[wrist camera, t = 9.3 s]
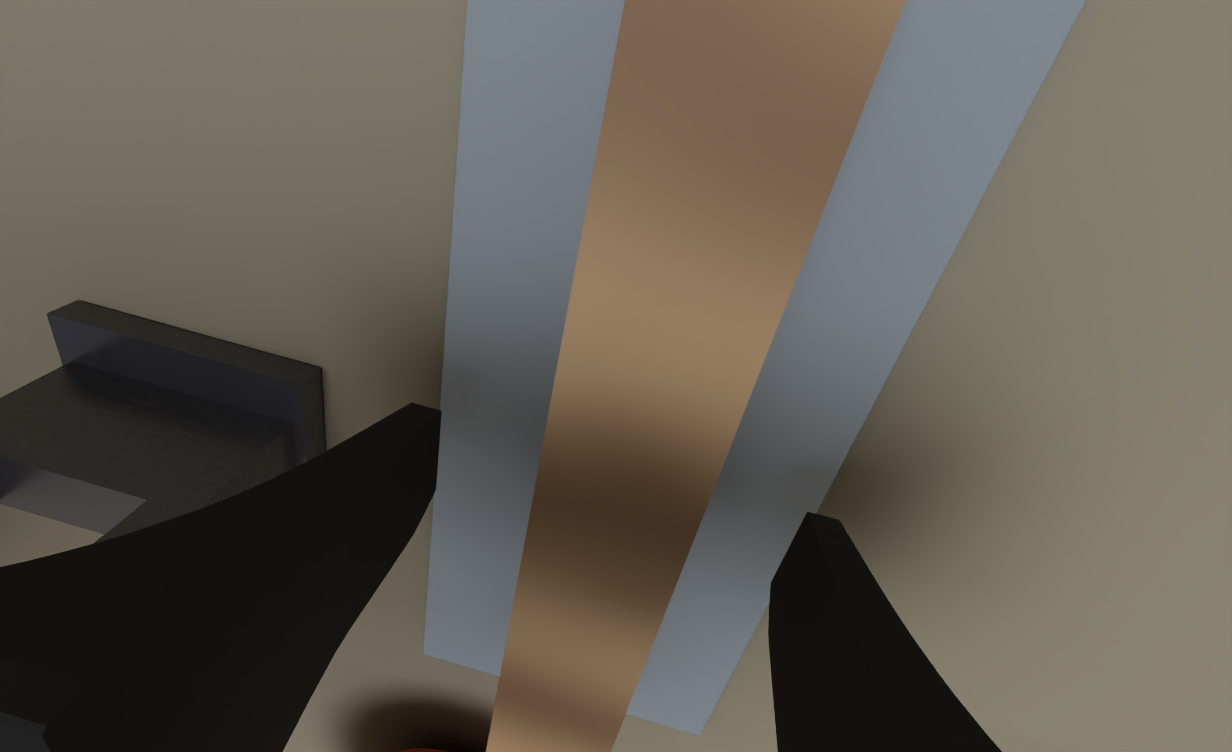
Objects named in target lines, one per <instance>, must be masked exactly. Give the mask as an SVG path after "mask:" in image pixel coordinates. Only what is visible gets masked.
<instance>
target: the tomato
mask: <svg viewBox="0 0 1232 752" xmlns="http://www.w3.org/2000/svg"><path fill="white" fill-rule="evenodd" d="M395 752H448V751H443V750H436V749H427V748H412V749H406V750H400V751H395Z"/></svg>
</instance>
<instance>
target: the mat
mask: <svg viewBox="0 0 1232 752" xmlns="http://www.w3.org/2000/svg"><path fill="white" fill-rule="evenodd" d="M1085 1H1086V0H906V2H905V4H904V7H903V9H902V12H901V14H900V17H899V20H898V22H897V25H896V27H895V30H894V32H893V35H892V37H891V40H890V42H889V45H888V48H887V50H886V53H885V55H884V58H883V60H882V63H881V65H880V68H879V70H878V73H877V75H876V78H875V81H874V83H873V86H872V88H871V91H870V93H869V96H868V98H867V101H866V103H865V106H864V109H863V111H862V114H861V116H860V119H859V121H858V124H857V126H856V129H855V131H854V134H853V137H852V139H851V142H850V144H849V147H848V149H847V152H846V154H845V157H844V159H843V162H842V165H841V167H840V170H839V172H838V175H837V177H836V180H835V182H834V185H833V187H832V190H831V193H830V195H829V198H828V200H827V203H826V205H825V208H824V210H823V213H822V215H821V218H820V221H819V223H818V226H817V228H816V231H815V233H814V236H813V238H812V241H811V243H810V246H809V248H808V251H807V254H806V256H805V259H804V261H803V264H802V266H801V269H800V271H799V274H798V276H797V279H796V282H795V284H794V287H793V289H792V292H791V294H790V297H789V299H788V302H787V304H786V307H785V310H784V312H783V315H782V317H781V320H780V322H779V325H778V327H777V330H776V332H775V335H774V338H773V340H772V343H771V345H770V348H769V350H768V353H767V355H766V358H765V360H764V363H763V366H762V368H761V371H760V373H759V376H758V378H757V381H756V383H755V386H754V388H753V391H752V394H751V396H750V399H749V401H748V404H747V406H746V409H745V411H744V414H743V416H742V419H741V421H740V424H739V427H738V429H737V432H736V434H735V437H734V439H733V442H732V444H731V447H730V449H729V452H728V455H727V457H726V460H725V462H724V465H723V467H722V470H721V472H720V475H719V477H718V480H717V483H716V485H715V488H714V490H713V493H712V495H711V498H710V500H709V503H708V505H707V508H706V511H705V513H704V516H703V518H702V521H701V523H700V526H699V528H698V531H697V533H696V536H695V539H694V541H693V544H692V546H691V549H690V551H689V554H688V556H687V559H686V561H685V564H684V567H683V569H682V572H681V574H680V577H679V579H678V582H677V584H676V587H675V589H674V592H673V594H672V597H671V600H670V602H669V605H668V607H667V610H666V612H665V615H664V617H663V620H662V622H661V625H660V628H659V630H658V633H657V635H656V638H655V640H654V643H653V645H652V648H651V650H650V653H649V656H648V658H647V661H646V663H645V666H644V668H643V671H642V673H641V676H640V678H639V681H638V684H637V686H636V689H635V691H634V694H633V696H632V699H631V701H630V704H629V706H628V709H627V712H626V714H627V715H630V716H634V717H637V718H641V719H644V720H647V721H651V722H654V723H657V724H661V725H664V726H668V727H671V728H674V729H678V730H681V731H684V732H688V733H691V734H695V735H698V736H700V734H701V732H702V730H703V728H704V726H705V724H706V722H707V721H708V719H709V717H710V715H711V713H712V711H713V709H714V707H715V705H716V703H717V702H718V700H719V698H720V696H721V694H722V692H723V690H724V688H725V686H726V684H727V683H728V681H729V679H730V677H731V675H732V673H733V671H734V669H735V667H736V665H737V663H738V662H739V660H740V658H741V656H742V654H743V652H744V650H745V648H746V646H747V644H748V643H749V641H750V639H751V637H752V635H753V633H754V631H755V629H756V627H757V625H758V623H759V622H760V620H761V618H762V616H763V614H764V612H765V610H766V608H767V606H768V604H769V603H770V586H771V581H772V579H773V577H774V575H775V573H776V571H777V569H778V568H779V566H780V564H781V562H782V560H783V558H784V556H785V554H786V552H787V550H788V548H789V546H790V544H791V542H792V540H793V538H794V536H795V534H796V532H797V530H798V528H799V527H800V525H801V523H802V521H803V519H804V517H805V515H806V513H807V511H808V512H811V513H815V514H816V513H817V511H818V509H819V507H820V505H821V504H822V502H823V500H824V498H825V496H826V494H827V492H828V490H829V488H830V486H831V484H832V483H833V481H834V479H835V477H836V475H837V473H838V471H839V469H840V467H841V465H842V464H843V462H844V460H845V458H846V456H847V454H848V452H849V450H850V448H851V446H852V445H853V443H854V441H855V439H856V437H857V435H858V433H859V431H860V429H861V427H862V425H863V424H864V422H865V420H866V418H867V416H868V414H869V412H870V410H871V408H872V406H873V405H874V403H875V401H876V399H877V397H878V395H879V393H880V391H881V389H882V387H883V385H884V384H885V382H886V380H887V378H888V376H889V374H890V372H891V370H892V368H893V366H894V365H895V363H896V361H897V359H898V357H899V355H900V353H901V351H902V349H903V347H904V346H905V344H906V342H907V340H908V338H909V336H910V334H911V332H912V330H913V328H914V326H915V325H916V323H917V321H918V319H919V317H920V315H921V313H922V311H923V309H924V307H925V306H926V304H927V302H928V300H929V298H930V296H931V294H932V292H933V290H934V288H935V286H936V285H937V283H938V281H939V279H940V277H941V275H942V273H943V271H944V269H945V267H946V266H947V264H948V262H949V260H950V258H951V256H952V254H953V252H954V250H955V248H956V247H957V245H958V243H959V241H960V239H961V237H962V235H963V233H964V231H965V229H966V227H967V226H968V224H969V222H970V220H971V218H972V216H973V214H974V212H975V210H976V208H977V207H978V205H979V203H980V201H981V199H982V197H983V195H984V193H985V191H986V189H987V187H988V186H989V184H990V182H991V180H992V178H993V176H994V174H995V172H996V170H997V168H998V167H999V165H1000V163H1001V161H1002V159H1003V157H1004V155H1005V153H1006V151H1007V149H1008V147H1009V146H1010V144H1011V142H1012V140H1013V138H1014V136H1015V134H1016V132H1017V130H1018V128H1019V127H1020V125H1021V123H1022V121H1023V119H1024V117H1025V115H1026V113H1027V111H1028V109H1029V108H1030V106H1031V104H1032V102H1033V100H1034V98H1035V96H1036V94H1037V92H1038V90H1039V88H1040V87H1041V85H1042V83H1043V81H1044V79H1045V77H1046V75H1047V73H1048V71H1049V69H1050V68H1051V66H1052V64H1053V62H1054V60H1055V58H1056V56H1057V54H1058V52H1059V50H1060V48H1061V47H1062V45H1063V43H1064V41H1065V39H1066V37H1067V35H1068V33H1069V31H1070V29H1071V28H1072V26H1073V24H1074V22H1075V20H1076V18H1077V16H1078V14H1079V12H1080V10H1081V9H1082V7H1083V5H1084V3H1085ZM624 2H625V0H467V15H466V29H465V44H464V59H463V74H462V88H461V103H460V118H459V133H458V147H457V162H456V177H455V192H454V206H453V221H452V236H451V251H450V265H449V280H448V295H447V310H446V324H445V339H444V354H443V368H442V383H441V398H440V411H442V415H441V429H440V443H439V457H438V471H437V485H436V491H435V493H434V501H433V516H432V531H431V545H430V560H429V575H428V590H427V604H426V619H425V634H424V649H423V654H424V655H428V656H431V657H434V658H438V659H441V660H444V661H448V662H451V663H455V664H458V665H461V666H465V667H468V668H471V669H475V670H478V671H482V672H485V673H488V674H492V675H495V676H499V677H500V672H501V667H502V662H503V656H504V651H505V645H506V640H507V635H508V629H509V624H510V618H511V613H512V607H513V602H514V597H515V591H516V586H517V580H518V575H519V570H520V564H521V559H522V553H523V548H524V543H525V537H526V532H527V526H528V521H529V516H530V510H531V505H532V499H533V494H534V489H535V483H536V478H537V472H538V467H539V462H540V456H541V451H542V445H543V440H544V434H545V429H546V424H547V418H548V413H549V407H550V402H551V397H552V391H553V386H554V380H555V375H556V370H557V364H558V359H559V353H560V348H561V343H562V337H563V332H564V326H565V321H566V316H567V310H568V305H569V299H570V294H571V289H572V283H573V278H574V272H575V267H576V262H577V256H578V251H579V245H580V240H581V234H582V229H583V224H584V218H585V213H586V207H587V202H588V197H589V191H590V186H591V180H592V175H593V170H594V164H595V159H596V153H597V148H598V143H599V137H600V132H601V126H602V121H603V116H604V110H605V105H606V99H607V94H608V89H609V83H610V78H611V72H612V67H613V61H614V56H615V51H616V45H617V40H618V34H619V29H620V24H621V18H622V13H623V7H624Z"/></svg>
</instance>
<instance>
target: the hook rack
mask: <svg viewBox="0 0 1232 752" xmlns="http://www.w3.org/2000/svg"><path fill="white" fill-rule="evenodd" d="M47 317H48V320H49V323H50V326H51V329H52V332H53V336H54V339H55V342H56V345H57V348H58V351H59V354H60V358H61V361H62V364H63V366H62V367H60V368H58V369H56V370H54V371H52V372H50V373H48V374H46V375H44V376H42V377H40V378H38V379H36V380H34V381H33V382H31V383H29V384H27V385H25V386H23V387H21V388H19V389H17V390H15V391H13V392H11V393H9V394H7V395H5V396H4V397H2V398H0V504H4V505H7V506H10V507H14V508H17V509H21V510H24V511H27V512H31V513H34V514H38V515H41V516H44V517H48V518H51V519H55V520H58V521H61V522H65V523H68V524H72V525H75V526H78V527H82V528H85V529H89V530H92V531H95V532H99V533H102V534H105V535H104V536H102V537H101V538H100V539H99V540H97V541H96V542H95V543H98V542H101V541H105V540H108V539H111V538H115V537H118V536H122V535H125V534H128V533H131V532H134V531H137V530H140V529H143V528H146V527H149V526H152V525H155V524H158V523H161V522H164V521H167V520H170V519H173V518H176V517H179V516H182V515H184V514H187V513H190V512H193V511H196V510H199V509H201V508H204V507H207V506H209V505H212V504H214V503H217V502H219V501H222V500H224V499H226V498H229V497H231V496H234V495H236V494H239V493H241V492H244V491H246V490H248V489H250V488H253V487H255V486H257V485H259V484H262V483H264V482H266V481H268V480H270V479H272V478H274V477H276V476H278V475H280V474H282V473H285V472H287V471H289V470H291V469H293V468H295V467H297V466H299V465H301V464H303V463H305V462H307V461H309V460H311V459H313V458H314V457H316V456H318V455H320V454H322V453H324V452H325V436H324V418H323V400H322V382H321V368H319V367H315V366H312V365H308V364H304V363H301V362H297V361H294V360H290V359H286V358H283V357H279V356H276V355H272V354H268V353H265V352H261V351H258V350H254V349H250V348H247V347H243V346H240V345H236V344H232V343H229V342H225V341H222V340H218V339H214V338H211V337H207V336H204V335H200V334H196V333H193V332H189V331H186V330H182V329H178V328H175V327H171V326H168V325H164V324H160V323H157V322H153V321H150V320H146V319H142V318H139V317H135V316H132V315H128V314H124V313H121V312H117V311H114V310H110V309H106V308H103V307H99V306H96V305H92V304H88V303H85V302H81V301H78V300H77V301H75V302H72V303H70V304H68V305H65V306H63V307H61V308H58V309H56V310H54V311H52V312H49V313H47Z"/></svg>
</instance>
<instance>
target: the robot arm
mask: <svg viewBox="0 0 1232 752" xmlns="http://www.w3.org/2000/svg"><path fill="white" fill-rule="evenodd" d="M441 415H442V411H440V410H437V409H433V408H429V407H426V406H422V405H418V404H415V403H410V404H409V405H407V406H405V407H403V408H401V409H399V410H398V411H396V412H394V413H392V414H391V415H389V416H387V417H385V418H384V419H382V420H380V421H379V422H377V423H375V424H373V425H372V426H370V427H368V428H366V429H365V430H363V431H361V432H360V433H358V434H356V435H354V436H353V437H351V438H349V439H347V440H345V441H344V442H342V443H340V444H338V445H336V446H335V447H333V448H331V449H329V450H327V451H325V452H324V453H322V454H320V455H318V456H316V457H314V458H313V459H311V460H309V461H307V462H305V463H303V464H301V465H299V466H297V467H295V468H293V469H291V470H289V471H287V472H285V473H282V474H280V475H278V476H276V477H274V478H272V479H270V480H268V481H266V482H264V483H262V484H259V485H257V486H255V487H253V488H250V489H248V490H246V491H244V492H241V493H239V494H236V495H234V496H231V497H229V498H226V499H224V500H222V501H219V502H217V503H214V504H212V505H209V506H207V507H204V508H201V509H199V510H196V511H193V512H190V513H187V514H184V515H182V516H179V517H176V518H173V519H170V520H167V521H164V522H161V523H158V524H155V525H152V526H149V527H146V528H143V529H140V530H137V531H134V532H131V533H128V534H125V535H122V536H118V537H115V538H111V539H108V540H105V541H101V542H98V543H94V544H91V545H87V546H84V547H80V548H76V549H72V550H69V551H65V552H61V553H57V554H54V555H50V556H46V557H42V558H38V559H34V560H30V561H26V562H21V563H17V564H12V565H8V566H3V567H0V752H283V750H284V748H285V746H286V744H287V742H288V740H289V738H290V736H291V734H292V732H293V730H294V729H295V727H296V725H297V723H298V721H299V719H300V717H301V715H302V713H303V711H304V709H305V707H306V705H307V704H308V702H309V700H310V698H311V696H312V694H313V693H314V691H315V689H316V687H317V685H318V683H319V681H320V680H321V678H322V676H323V674H324V672H325V670H326V669H327V667H328V665H329V663H330V661H331V659H332V658H333V656H334V654H335V652H336V651H337V649H338V647H339V646H340V644H341V643H342V641H343V639H344V638H345V636H346V634H347V633H348V631H349V630H350V628H351V627H352V625H353V624H354V622H355V621H356V619H357V618H358V616H359V615H360V613H361V612H362V610H363V609H364V607H365V606H366V604H367V603H368V602H369V600H370V599H371V597H372V596H373V594H374V593H375V591H376V590H377V588H378V587H379V585H380V584H381V582H382V581H383V579H384V578H385V576H386V575H387V573H388V572H389V570H390V569H391V568H392V566H393V565H394V563H395V562H396V560H397V559H398V557H399V556H400V554H401V552H402V551H403V549H404V548H405V546H406V545H407V543H408V542H409V540H410V539H411V537H412V536H413V534H414V532H415V531H416V529H417V527H418V525H419V523H420V521H421V519H422V517H423V515H424V513H425V511H426V509H427V507H428V505H429V503H430V501H431V499H432V497H433V495H434V493H435V491H436V485H437V471H438V457H439V443H440V429H441ZM768 636H769V650H770V663H771V676H772V687H773V699H774V711H775V722H776V734H777V746H778V752H1002V751H1001V750H1000V749H999V748H998V747H997V746H996V745H995V743H994V742H993V741H992V740H991V739H990V738H989V736H988V735H987V734H986V733H985V732H984V730H983V729H982V728H981V727H980V725H979V724H978V723H977V722H976V721H975V719H974V718H973V717H972V716H971V714H970V713H969V712H968V711H967V710H966V708H965V707H964V706H963V705H962V703H961V702H960V701H959V700H958V698H957V697H956V696H955V695H954V693H953V692H952V691H951V689H950V688H949V687H948V686H947V684H946V683H945V682H944V680H943V679H942V678H941V676H940V675H939V674H938V672H937V671H936V669H935V668H934V667H933V665H932V664H931V662H930V661H929V660H928V658H927V657H926V655H925V654H924V653H923V651H922V650H921V648H920V647H919V646H918V644H917V643H916V641H915V640H914V639H913V637H912V636H911V634H910V633H909V631H908V630H907V628H906V627H905V625H904V624H903V622H902V621H901V619H900V618H899V616H898V615H897V613H896V612H895V610H894V608H893V607H892V605H891V604H890V602H889V601H888V599H887V598H886V596H885V594H884V593H883V591H882V590H881V588H880V586H879V585H878V583H877V582H876V580H875V578H874V577H873V575H872V573H871V572H870V570H869V568H868V567H867V565H866V563H865V562H864V560H863V558H862V557H861V555H860V554H859V552H858V550H857V548H856V547H855V545H854V543H853V542H852V540H851V539H850V537H849V535H848V534H847V532H846V530H845V529H844V527H843V526H842V524H841V522H840V521H839V520H837V519H833V518H830V517H826V516H822V515H819V514H815V513H811V512H808V511H807V513H806V515H805V517H804V519H803V521H802V523H801V525H800V527H799V528H798V530H797V532H796V534H795V536H794V538H793V540H792V542H791V544H790V546H789V548H788V550H787V552H786V554H785V556H784V558H783V560H782V562H781V564H780V566H779V568H778V569H777V571H776V573H775V575H774V577H773V579H772V581H771V586H770V603H769V629H768Z"/></svg>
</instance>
